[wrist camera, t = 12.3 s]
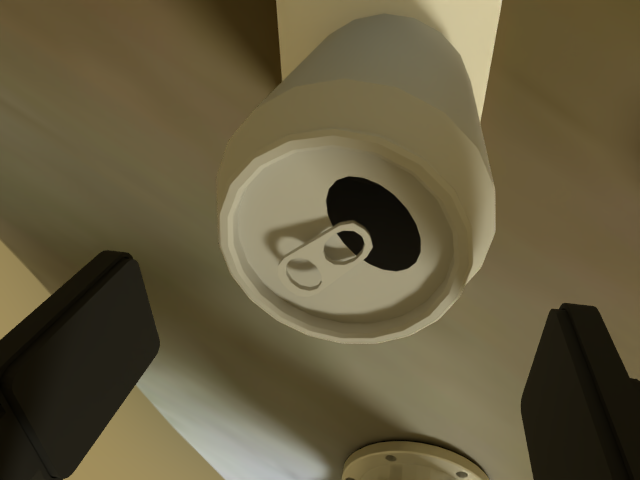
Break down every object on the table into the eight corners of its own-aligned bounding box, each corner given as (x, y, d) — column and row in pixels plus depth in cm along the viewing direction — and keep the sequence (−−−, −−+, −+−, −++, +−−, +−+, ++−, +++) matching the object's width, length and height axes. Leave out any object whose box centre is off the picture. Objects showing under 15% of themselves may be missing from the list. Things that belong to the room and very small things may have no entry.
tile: (466, 185, 23) (467, 193, 22) (293, 173, 24) (289, 180, 24) (502, -21, 18) (505, -19, 17) (280, -18, 19) (274, -16, 19)
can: (503, 122, 20) (567, 308, 10) (365, 202, 23) (315, 395, 14) (409, -34, 17) (373, 15, 8) (270, 83, 21) (129, 216, 11)
